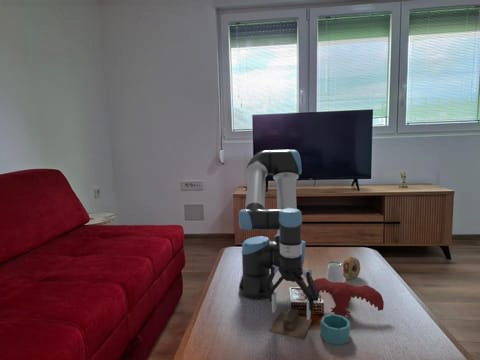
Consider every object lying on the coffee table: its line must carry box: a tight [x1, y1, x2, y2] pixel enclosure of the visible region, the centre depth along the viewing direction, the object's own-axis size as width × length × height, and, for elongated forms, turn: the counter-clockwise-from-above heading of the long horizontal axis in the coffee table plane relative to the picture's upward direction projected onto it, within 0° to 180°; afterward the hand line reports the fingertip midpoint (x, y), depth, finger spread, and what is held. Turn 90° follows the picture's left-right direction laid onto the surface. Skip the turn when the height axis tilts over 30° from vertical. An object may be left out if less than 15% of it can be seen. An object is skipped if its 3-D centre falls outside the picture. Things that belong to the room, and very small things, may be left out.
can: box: [326, 260, 344, 282], centre depth 136 cm, size 6×6×12 cm
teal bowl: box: [320, 313, 351, 346], centre depth 105 cm, size 9×9×5 cm
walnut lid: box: [269, 308, 313, 340], centre depth 112 cm, size 12×12×5 cm
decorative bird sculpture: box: [307, 277, 385, 319], centre depth 120 cm, size 28×9×15 cm
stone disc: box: [342, 256, 361, 281], centre depth 147 cm, size 10×4×10 cm, turn 125°
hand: (291, 314), depth 112 cm, fingers open, 12 cm apart
